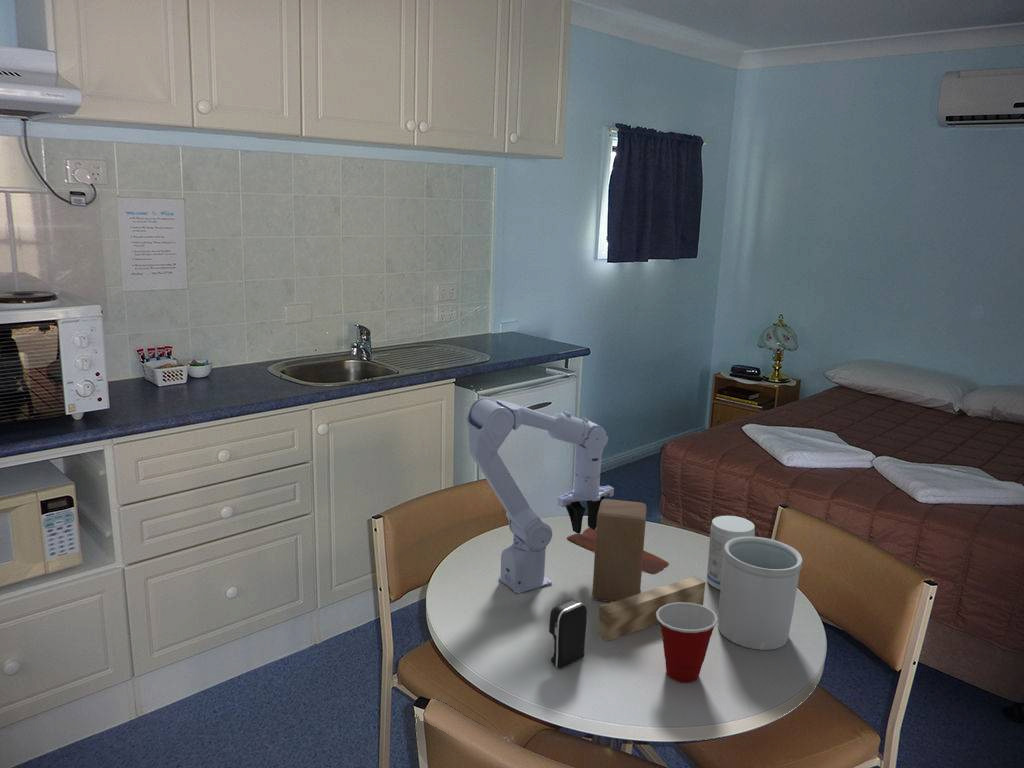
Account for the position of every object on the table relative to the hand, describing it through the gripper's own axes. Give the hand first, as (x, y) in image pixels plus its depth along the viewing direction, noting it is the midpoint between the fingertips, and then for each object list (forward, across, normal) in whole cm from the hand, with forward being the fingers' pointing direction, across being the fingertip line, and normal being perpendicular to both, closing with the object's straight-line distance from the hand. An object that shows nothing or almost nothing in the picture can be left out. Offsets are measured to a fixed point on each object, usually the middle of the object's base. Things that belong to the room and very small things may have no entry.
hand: (584, 530), depth 180 cm
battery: (+10, -25, -28) cm, 39 cm away
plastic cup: (+10, -9, -42) cm, 44 cm away
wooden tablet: (+11, +14, +4) cm, 18 cm away
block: (+10, 0, -12) cm, 16 cm away
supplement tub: (+10, +25, -22) cm, 34 cm away
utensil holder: (+10, +14, -38) cm, 42 cm away
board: (+10, -1, -25) cm, 27 cm away
